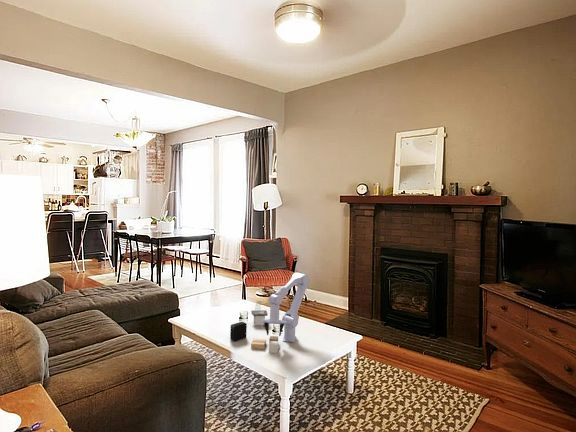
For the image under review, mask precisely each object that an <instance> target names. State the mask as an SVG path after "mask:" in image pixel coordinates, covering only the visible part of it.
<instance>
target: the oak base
mask: <svg viewBox="0 0 576 432" xmlns="http://www.w3.org/2000/svg"><path fill="white" fill-rule="evenodd" d="M251 341H252V342H251V343H250V349H255V350H256V349H257V350H264V349H265V348H266V345H267V339H266V338H265V339H264V338H253V339H252V340H251Z"/></svg>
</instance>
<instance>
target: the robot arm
mask: <svg viewBox="0 0 576 432" xmlns="http://www.w3.org/2000/svg"><path fill="white" fill-rule="evenodd" d="M309 283H310V277H309V275H308V274H305V273H301V272H298V271H296V272H294V273H293V274H292V275H291V278H290V280H289V281H288V282H287V283H286V284H285V285H284V286H281V287H279V289H277V290H276V292H274V293H272V294H270V295H269V297H268V299H267V300H268V302H269V306H270V310H269V318H268V319H265V320H264V319H263V324H264V325H263V326H264V329H265V331H266V335H267V336H269V334H270V333H269V331H270V329H269V327H270V324H271V325H279V333H278V337H281V335H282V331H283V329H284V331H283V339H282V341H283V342H290V343H296V340H297V336H296V328H297V327H298V325H299V319H300V316H299V313H298V311H299V309H300V307H301V305H302V304H301V303H302V301H303V298H304V295H305V293H306V291H307V288H308V285H309ZM294 286H296V287H297V290H296V292H295V294H294V297H293V299H292V302H291V305H290V307H289V310H287V311H285V314H284V315H283V316H282V318H281V319H280V305H281V303H282V302H283V299H284V298H285V297H286V296H287V295H288V293H289V290H290V289H292V288H293V287H294Z"/></svg>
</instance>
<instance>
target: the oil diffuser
mask: <svg viewBox="0 0 576 432" xmlns="http://www.w3.org/2000/svg"><path fill="white" fill-rule="evenodd" d="M257 303H258V306H259V309H258V308H257V305H255V307H254V308H255V310H251V311H250V312H251V313H250V314H251V315H252V316H253V324H254V326H264V324H263V319H264V320H266V317H267V316H268V311H267V310H265V309H264V310H263V309H261V307H262V306H261V300H260V301H257Z"/></svg>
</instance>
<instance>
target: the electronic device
mask: <svg viewBox="0 0 576 432" xmlns="http://www.w3.org/2000/svg"><path fill="white" fill-rule="evenodd" d="M247 327H248V326H247V323H246V322H244V321H239V322H236V323H232V324H231V325H230V333H229V334H230V337H229V339H230V340H231V341H233V342H238V341H241V340H243V339H246V338H247V331H248V330H247Z"/></svg>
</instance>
